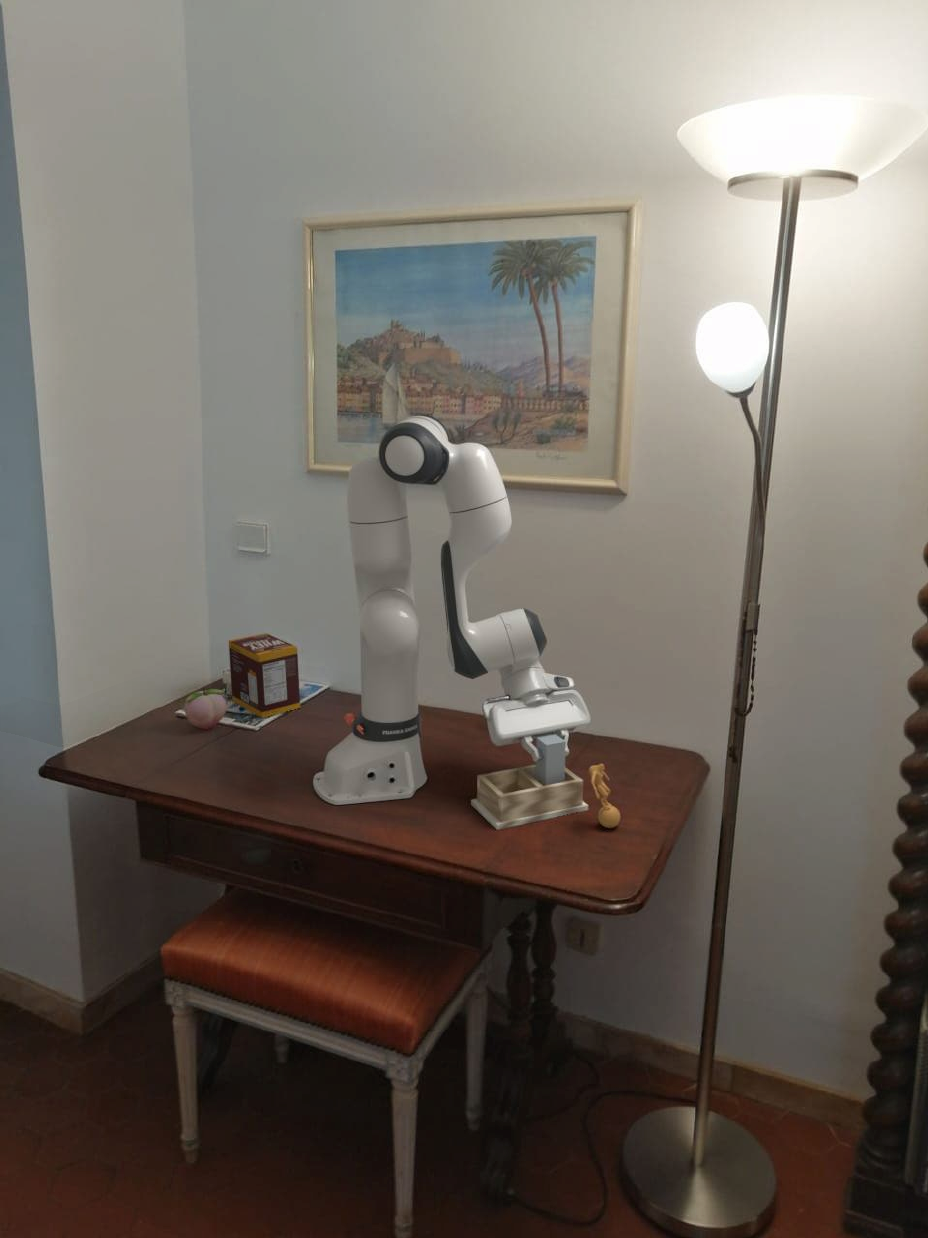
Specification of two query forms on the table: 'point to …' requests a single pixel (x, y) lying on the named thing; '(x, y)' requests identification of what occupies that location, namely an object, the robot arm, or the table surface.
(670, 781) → the table surface
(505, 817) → the wooden divided tray
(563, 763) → the grey peg
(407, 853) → the table surface
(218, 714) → the decorative fruit
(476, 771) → the table surface
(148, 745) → the table surface
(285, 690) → the supplement box
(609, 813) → the figurine
